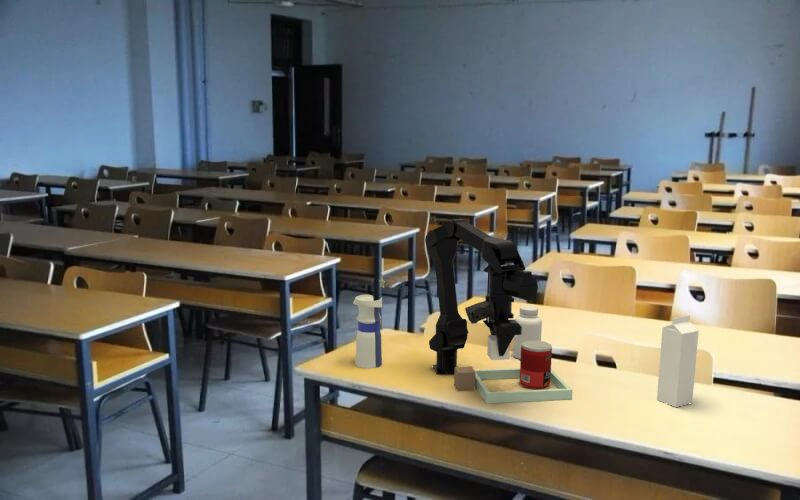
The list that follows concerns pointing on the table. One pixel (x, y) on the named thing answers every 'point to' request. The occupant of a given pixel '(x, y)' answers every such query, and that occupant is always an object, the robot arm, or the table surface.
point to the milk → (677, 362)
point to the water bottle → (369, 331)
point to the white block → (496, 349)
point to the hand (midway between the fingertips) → (498, 352)
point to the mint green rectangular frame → (519, 396)
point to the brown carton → (464, 378)
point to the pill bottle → (527, 328)
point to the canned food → (535, 364)
